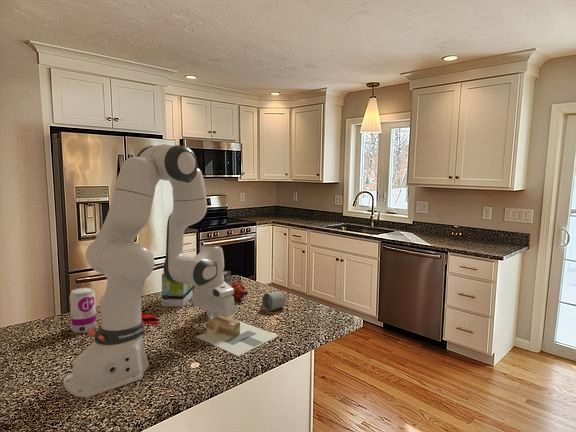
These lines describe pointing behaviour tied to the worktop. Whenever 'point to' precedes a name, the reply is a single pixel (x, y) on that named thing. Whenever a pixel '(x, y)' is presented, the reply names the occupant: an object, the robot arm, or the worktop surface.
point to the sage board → (239, 339)
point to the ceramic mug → (273, 300)
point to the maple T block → (223, 326)
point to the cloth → (147, 317)
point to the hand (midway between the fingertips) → (212, 322)
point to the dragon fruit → (238, 290)
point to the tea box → (175, 293)
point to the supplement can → (82, 310)
